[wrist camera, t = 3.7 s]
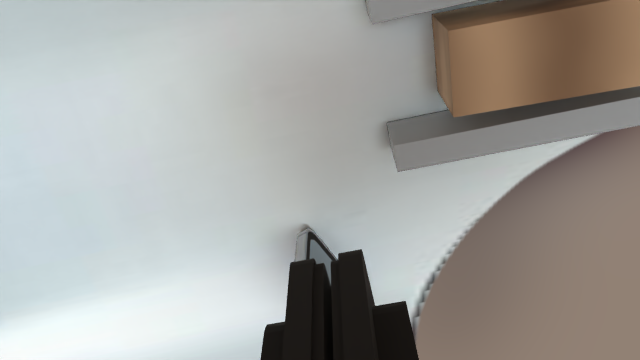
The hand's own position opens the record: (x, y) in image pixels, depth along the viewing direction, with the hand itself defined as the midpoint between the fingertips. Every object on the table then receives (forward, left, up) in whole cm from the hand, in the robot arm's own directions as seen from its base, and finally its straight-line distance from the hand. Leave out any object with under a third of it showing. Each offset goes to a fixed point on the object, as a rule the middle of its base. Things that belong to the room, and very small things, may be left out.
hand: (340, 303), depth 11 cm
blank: (-10, 0, -17) cm, 20 cm away
